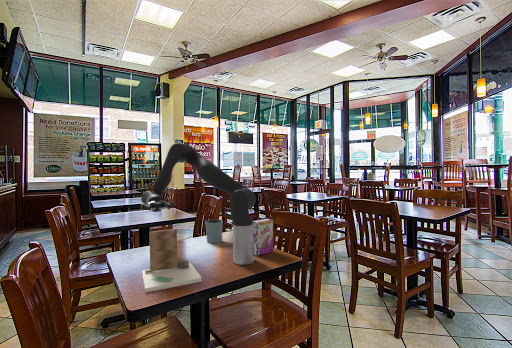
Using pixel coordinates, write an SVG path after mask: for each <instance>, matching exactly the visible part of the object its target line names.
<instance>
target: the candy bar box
mask: <svg viewBox="0 0 512 348" xmlns="http://www.w3.org/2000/svg"><path fill="white" fill-rule="evenodd" d="M253 239H254V257H255V256H256V257H258V256H262V255H266V254H269V253H272V252H274V219H270V218H264V219H258V220H253Z"/></svg>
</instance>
